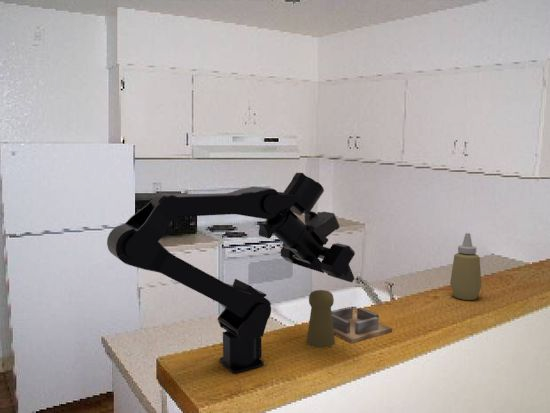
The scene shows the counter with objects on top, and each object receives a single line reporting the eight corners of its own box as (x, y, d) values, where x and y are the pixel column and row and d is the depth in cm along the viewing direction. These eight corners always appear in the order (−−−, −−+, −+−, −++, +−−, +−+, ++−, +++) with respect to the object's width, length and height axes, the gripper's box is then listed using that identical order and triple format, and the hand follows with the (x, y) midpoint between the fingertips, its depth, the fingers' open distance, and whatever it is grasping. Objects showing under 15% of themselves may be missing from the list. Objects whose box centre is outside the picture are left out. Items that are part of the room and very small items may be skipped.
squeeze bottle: (471, 304, 122) (474, 237, 120) (443, 297, 129) (446, 233, 127) (486, 298, 127) (489, 233, 126) (459, 291, 134) (461, 230, 132)
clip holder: (351, 343, 97) (351, 328, 96) (316, 325, 107) (316, 312, 106) (392, 331, 103) (392, 317, 103) (355, 316, 113) (355, 303, 113)
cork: (300, 341, 98) (300, 290, 97) (320, 334, 102) (321, 285, 100) (321, 350, 93) (321, 297, 92) (341, 342, 97) (341, 291, 96)
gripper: (345, 204, 85) (389, 252, 93) (289, 197, 101) (330, 238, 108) (313, 253, 82) (361, 298, 90) (260, 238, 98) (304, 278, 105)
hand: (338, 275), depth 98 cm, fingers open, 9 cm apart
